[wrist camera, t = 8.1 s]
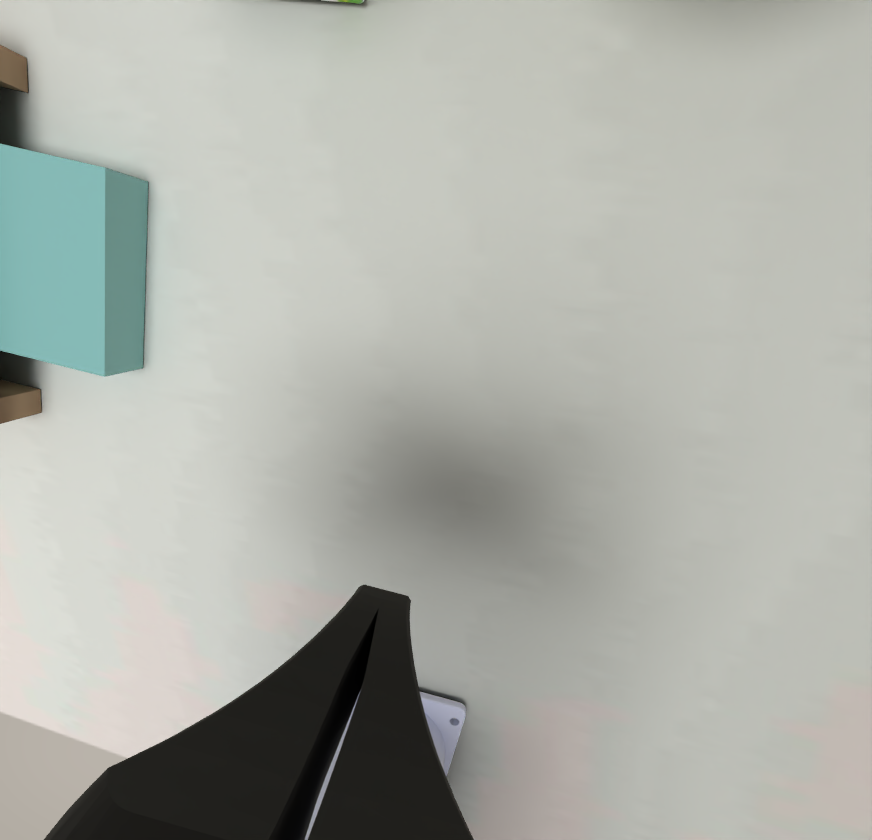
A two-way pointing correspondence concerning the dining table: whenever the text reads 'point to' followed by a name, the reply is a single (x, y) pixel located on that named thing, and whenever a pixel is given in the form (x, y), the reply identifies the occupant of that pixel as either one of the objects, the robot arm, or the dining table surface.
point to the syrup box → (351, 0)
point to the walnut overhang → (3, 397)
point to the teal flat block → (72, 262)
